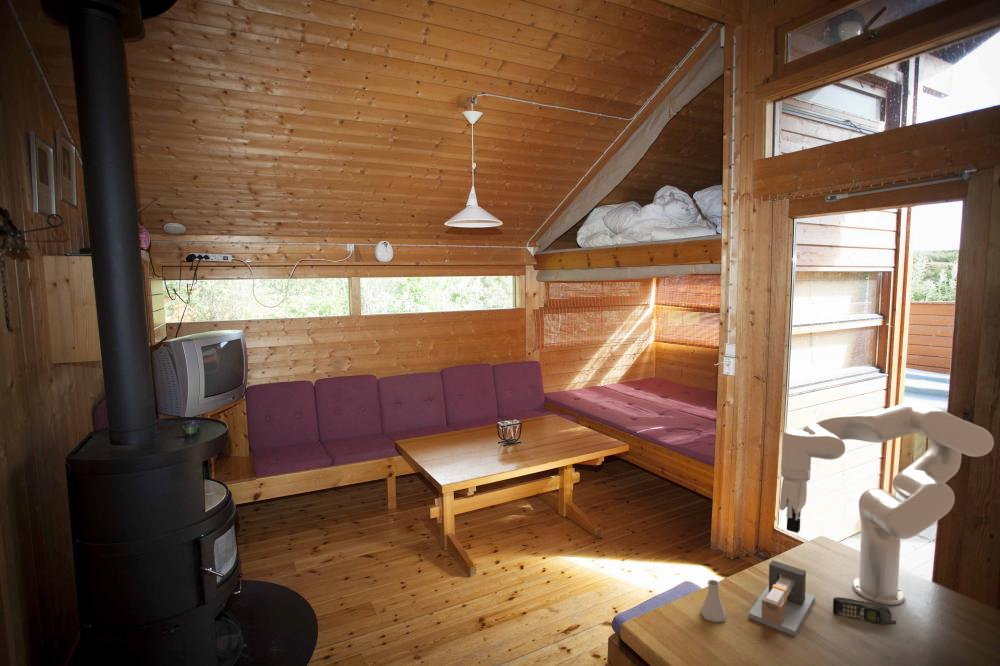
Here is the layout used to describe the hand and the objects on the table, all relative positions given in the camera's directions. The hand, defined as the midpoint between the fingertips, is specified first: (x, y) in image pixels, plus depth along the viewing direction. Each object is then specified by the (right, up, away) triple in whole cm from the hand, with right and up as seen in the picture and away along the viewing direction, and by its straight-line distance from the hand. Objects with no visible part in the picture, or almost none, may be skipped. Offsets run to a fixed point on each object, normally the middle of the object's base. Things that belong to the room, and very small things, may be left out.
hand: (793, 530), depth 161 cm
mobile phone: (+14, -21, -11) cm, 27 cm away
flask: (-26, -22, -6) cm, 35 cm away
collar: (-3, -18, -3) cm, 19 cm away
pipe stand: (-6, -21, -5) cm, 22 cm away
